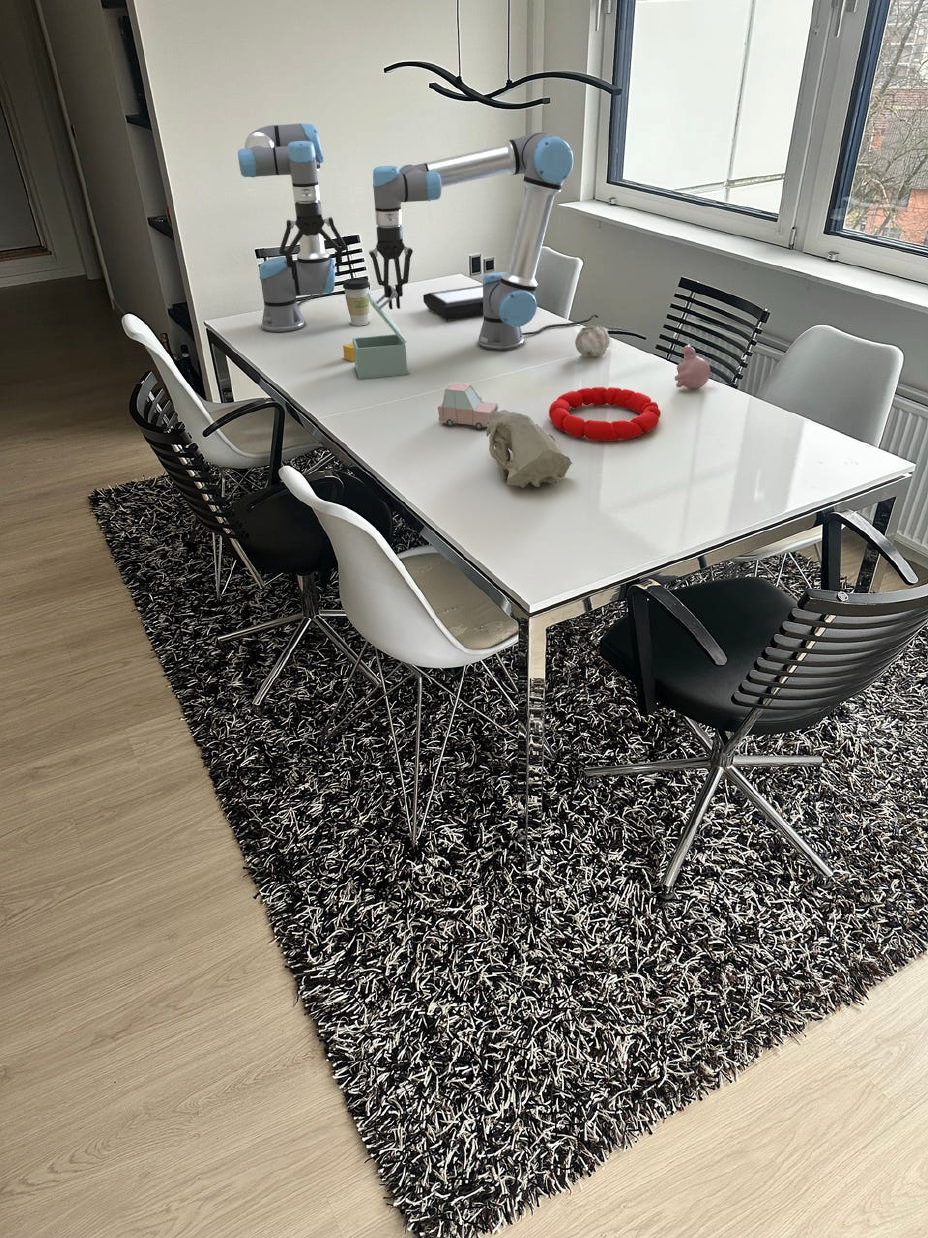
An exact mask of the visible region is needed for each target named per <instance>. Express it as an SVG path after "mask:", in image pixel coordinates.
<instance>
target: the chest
mask: <svg viewBox="0 0 928 1238" xmlns="http://www.w3.org/2000/svg"><path fill="white" fill-rule="evenodd" d="M352 343H353V348H354V359H355V361H354V368H355V370H356V373H357V376H358V380H365V379H374V378H375V379H376V378H387V377H395V376H396V377H397V376H398V377H399V376H406V375H408V363H407V360H408V359H407V347H406V343H405V344H404V343H403V342H402V341H401V340H400V338H399V337H398V336H397V335H396V334H395V333H394V334H384V335H374V336H362V337H352Z"/></svg>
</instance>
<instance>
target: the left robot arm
mask: <svg viewBox="0 0 928 1238" xmlns="http://www.w3.org/2000/svg"><path fill="white" fill-rule="evenodd" d="M237 158H238V159H237V160H238V165H239V172H240V176H242V177H243V178H257V177H273V176H290V177H291V186H292V193H293V194H292V195H293V202H294V209H295V218H296V219H295V220H291V219H286V228H285V231H284V234H283V237H282V241H281V244H280V247H279V250H278V253H279V255H280V256H277V257H273V258H270V259H267V260H264V261H263V262H261V263H260V265H259V266H258V270H259V280H260V285H261V286H260V287H261V292H262V299H263V313H262V319H261V326H262V330H264V331H265V332H271V333H286V332H293V331H296V330H297V331H298V330H300V329H302V328H304V326H305V319H304V317H303V314H302V312H301V310H300V307H299V306H300V305H301V304H303V303H305V302H307V301H310V300H312V299H313V297H314V295H315V296H316V295H321V296H322V295H327V294H332V293H333V292H334V290H335V286H336V285H335V284H336V276H337V277H341V271H340V265H342V264H343V256H342V255H343V254H342V253H343V252H344V251H347V249H348V247H347V244H346V242H345V241H344V239H343V238H342V236H341V234H340V232H339V231H338V229H337V228H336V226H335V223H334V219H333V217H332V216H328V217H327V218H323V213H322V203H321V201H320V199H321V195H320V194H321V193H320V185H319V179H318V178H319V177H318V173H319V172H320V170H321V164H323V163H324V162H325V159H324V155H323V150H322V145H321V141H320V137H319V133H318V129H317V127H316V125H315V124H313V123H290V124H288V123H287V124H275V125H274V124H271V125H266V126H263V127H260V128H258V129H256V130H253V131H252V132H251V133H250V134H248V136H247V137H246V139H245V142H244V148H239V149H238V150H237ZM325 224H326V225H327V227H330V229H331V231H332V233H333V234H334V236H335V238H336V240H337V242H338V244H339V245H340V246H339V245H338V244H337V242H335V240H333V238H331V237H330V235H329V234H328V233H327V232H326V231H325V230H324V229H323V227H324V225H325ZM295 226H296V228H297V233H296V235H295V236H294V238H293V239H292V240H291V243H290V244H289V246H288V247H287V249H286V246H287V243H288V241H289V238H290V235H291V230H293V229H294V227H295ZM325 241H326V242H327V243H328V244H329V245H330V246H331V247H332V248H333V249H334V250H335V251H334V258H332V257H331V253H330V252H329V251H328V250H327V249H326V247H325ZM298 243H299V250H300V251H298V253H297V254H296V260H294V258H293V254H292V252H294V250H295V248H296V246H297V245H298ZM285 249H286V250H285ZM300 296H301V297H302V296H303V297H304V296H310V297H308V298H305V299H302V300H300V301H299V302H298V303H297V297H300Z"/></svg>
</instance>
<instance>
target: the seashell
mask: <svg viewBox="0 0 928 1238" xmlns="http://www.w3.org/2000/svg"><path fill="white" fill-rule="evenodd" d="M610 337H611V336H610V334H609V332H608V331H607V329H606V328H605V327H604V325H597V324H596V325H595V324H587V326H586V327H585V326H584V327H582V328H581V329H580V330H579V332H578V333H577V335H576V337H575V341H574V344H575V347H576V350H577V352H578V353H579V354H580V355H581V356H583V357H586V358H587V357H591V356H592V357H601V356H603V355H604V354H605V353H606V352H607V351H608V350H607V349H608V348H609V346H610V343H611V338H610Z"/></svg>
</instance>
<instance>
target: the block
mask: <svg viewBox="0 0 928 1238" xmlns="http://www.w3.org/2000/svg"><path fill="white" fill-rule="evenodd" d="M342 350H343V358H344V360H346V361H349V362H351V363H353V362H355V359H354V348H353V342H351V343H347V344H343V345H342Z"/></svg>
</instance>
